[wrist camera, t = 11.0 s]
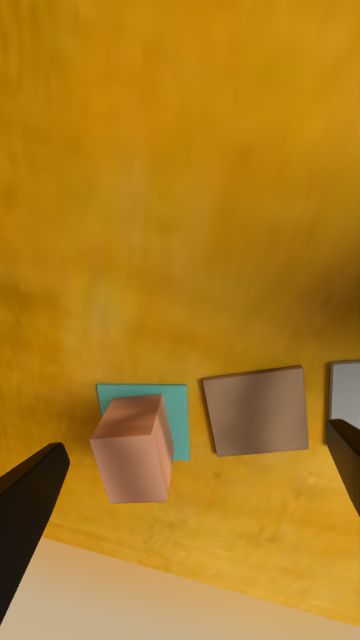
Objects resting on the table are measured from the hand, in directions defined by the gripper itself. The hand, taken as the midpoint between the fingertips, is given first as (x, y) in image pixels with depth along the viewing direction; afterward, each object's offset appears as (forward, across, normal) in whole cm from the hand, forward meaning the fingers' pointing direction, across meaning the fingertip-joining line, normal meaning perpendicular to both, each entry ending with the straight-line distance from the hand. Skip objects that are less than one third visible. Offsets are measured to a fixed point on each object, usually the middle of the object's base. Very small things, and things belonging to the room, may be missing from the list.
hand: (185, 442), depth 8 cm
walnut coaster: (+13, -4, +9) cm, 16 cm away
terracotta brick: (+12, +6, +8) cm, 16 cm away
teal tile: (+13, +6, +8) cm, 17 cm away
